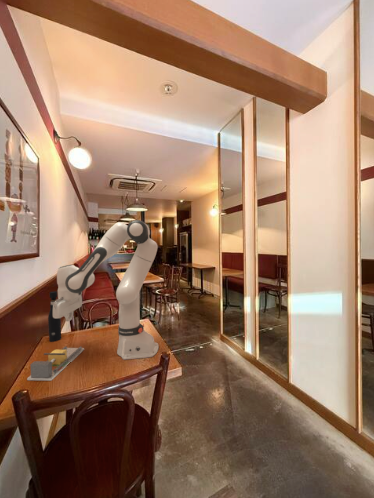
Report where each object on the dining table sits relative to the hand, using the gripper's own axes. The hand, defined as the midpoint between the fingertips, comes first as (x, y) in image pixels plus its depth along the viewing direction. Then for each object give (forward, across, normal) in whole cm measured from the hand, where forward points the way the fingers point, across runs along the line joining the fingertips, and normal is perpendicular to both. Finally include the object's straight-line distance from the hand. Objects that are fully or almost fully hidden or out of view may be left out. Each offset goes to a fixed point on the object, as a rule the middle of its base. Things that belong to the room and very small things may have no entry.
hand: (69, 320), depth 113 cm
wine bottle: (+18, +16, +21) cm, 32 cm away
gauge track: (+18, -9, +1) cm, 20 cm away
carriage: (+17, -12, +1) cm, 21 cm away
